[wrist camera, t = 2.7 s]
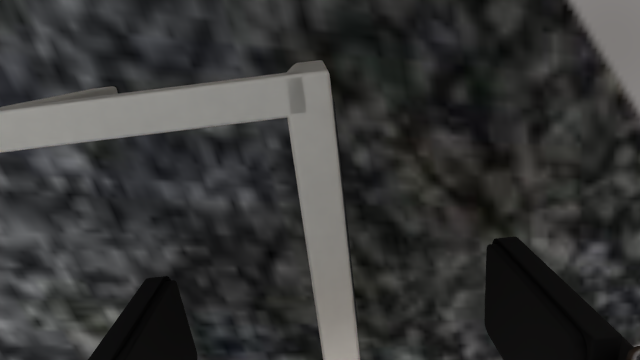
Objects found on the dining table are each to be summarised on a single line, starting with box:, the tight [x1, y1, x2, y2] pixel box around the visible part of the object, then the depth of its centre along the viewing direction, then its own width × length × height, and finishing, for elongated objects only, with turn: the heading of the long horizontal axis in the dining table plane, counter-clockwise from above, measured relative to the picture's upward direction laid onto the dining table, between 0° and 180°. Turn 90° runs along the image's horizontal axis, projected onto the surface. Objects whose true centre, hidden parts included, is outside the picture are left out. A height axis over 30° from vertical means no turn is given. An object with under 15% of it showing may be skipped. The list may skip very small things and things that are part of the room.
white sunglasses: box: [0, 60, 361, 360], centre depth 11 cm, size 6×13×4 cm, turn 7°
